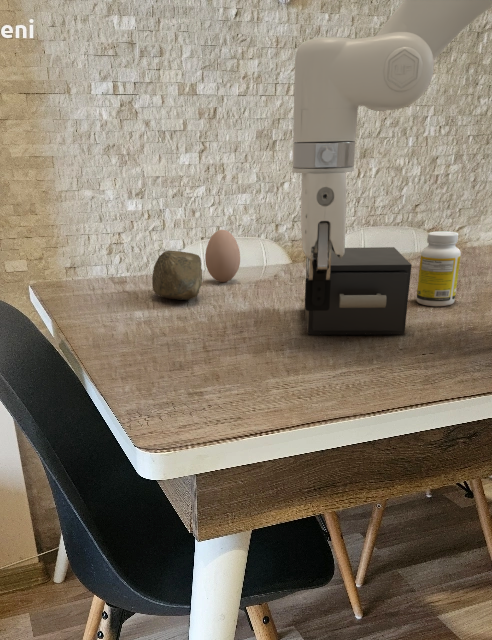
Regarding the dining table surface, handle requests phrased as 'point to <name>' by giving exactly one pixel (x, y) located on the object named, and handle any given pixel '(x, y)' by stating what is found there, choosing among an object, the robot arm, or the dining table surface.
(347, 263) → the dark grey drawer unit
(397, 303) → the pull-out drawer
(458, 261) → the pill bottle
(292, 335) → the dining table surface
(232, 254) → the egg
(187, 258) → the stone
